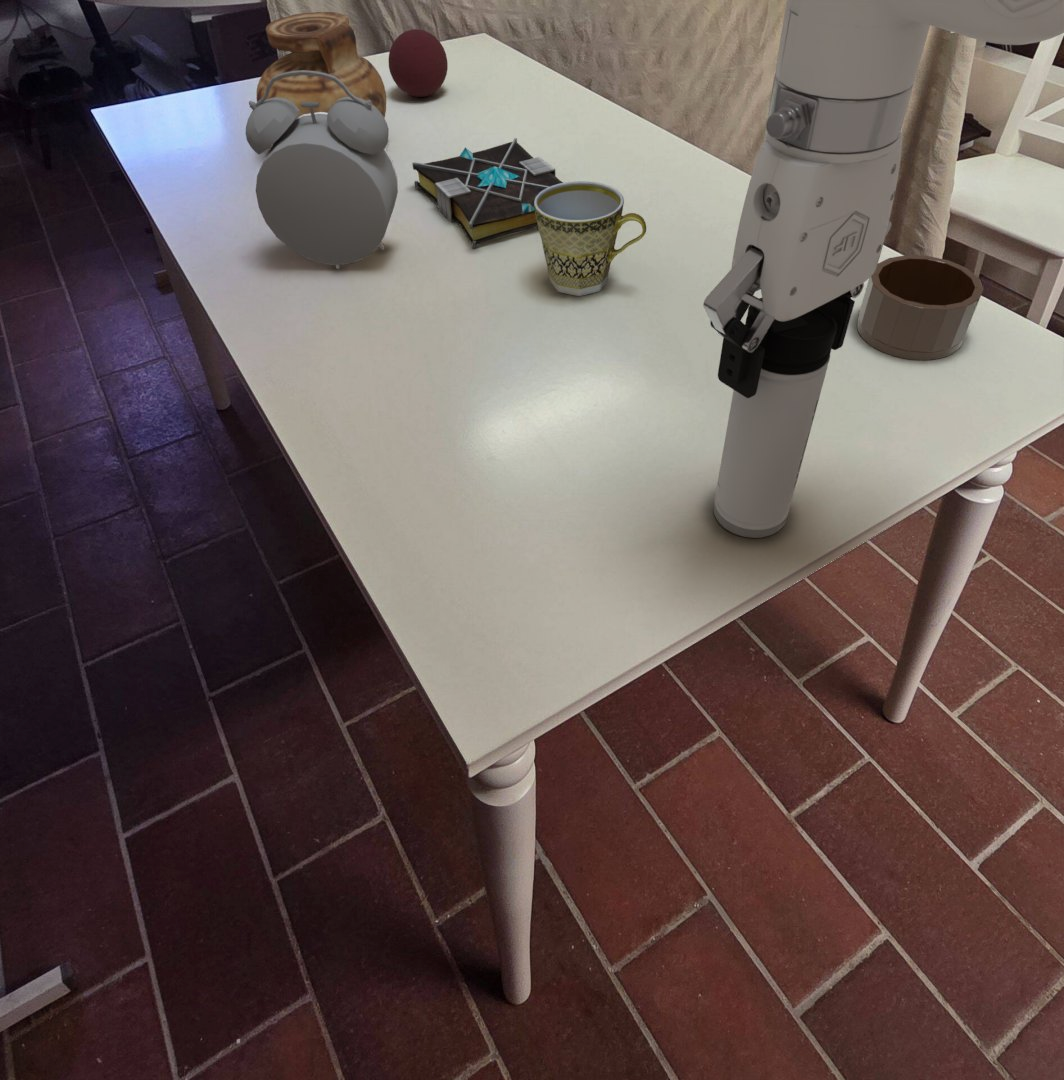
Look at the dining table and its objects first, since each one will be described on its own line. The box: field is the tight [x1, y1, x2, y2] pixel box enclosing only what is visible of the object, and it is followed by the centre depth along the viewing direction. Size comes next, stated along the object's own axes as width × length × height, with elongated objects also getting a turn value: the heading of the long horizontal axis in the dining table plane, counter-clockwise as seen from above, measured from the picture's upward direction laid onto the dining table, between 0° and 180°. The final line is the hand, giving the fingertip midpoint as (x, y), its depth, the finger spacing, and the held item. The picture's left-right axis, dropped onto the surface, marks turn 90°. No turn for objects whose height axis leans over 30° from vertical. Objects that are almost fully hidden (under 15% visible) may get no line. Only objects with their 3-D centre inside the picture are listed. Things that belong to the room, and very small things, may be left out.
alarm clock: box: [245, 70, 399, 270], centre depth 97 cm, size 16×9×22 cm, turn 85°
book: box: [412, 137, 564, 249], centre depth 112 cm, size 22×17×5 cm
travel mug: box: [712, 297, 837, 539], centre depth 64 cm, size 6×7×20 cm
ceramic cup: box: [534, 180, 647, 297], centre depth 95 cm, size 13×10×10 cm
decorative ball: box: [388, 28, 449, 98], centre depth 140 cm, size 10×10×10 cm
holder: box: [856, 254, 985, 361], centre depth 87 cm, size 11×11×6 cm
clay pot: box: [256, 11, 387, 120], centre depth 123 cm, size 19×19×20 cm
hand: (780, 363), depth 60 cm, fingers open, 8 cm apart
